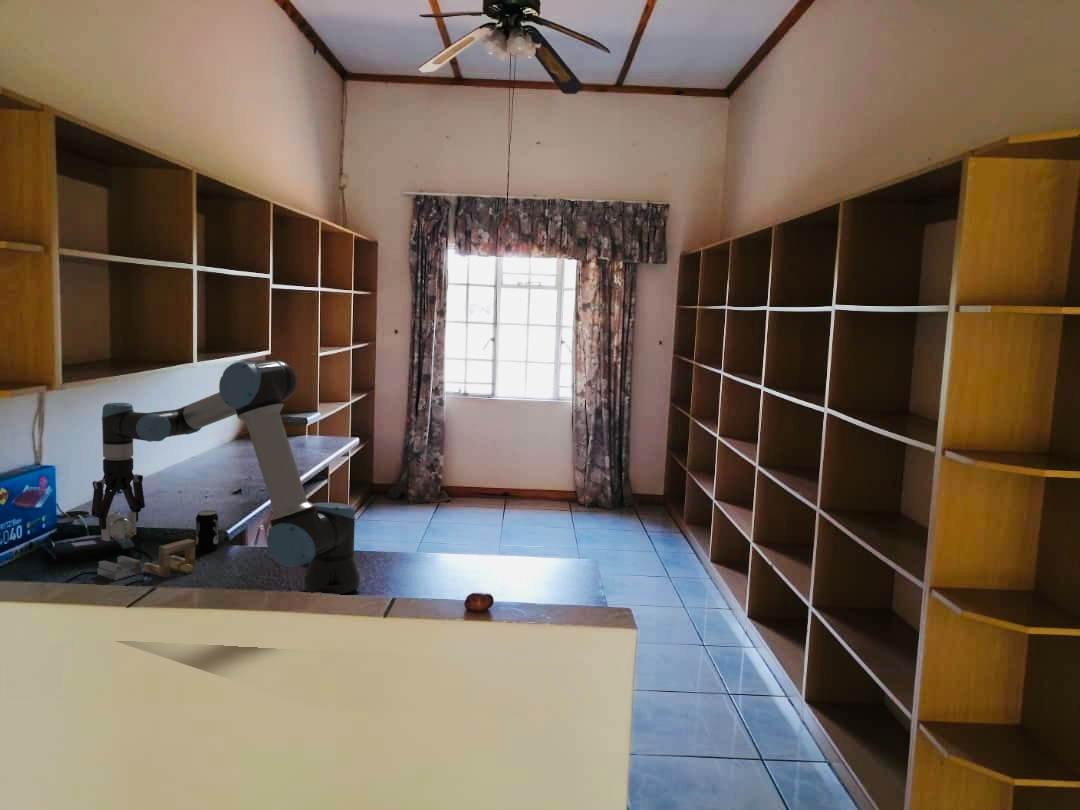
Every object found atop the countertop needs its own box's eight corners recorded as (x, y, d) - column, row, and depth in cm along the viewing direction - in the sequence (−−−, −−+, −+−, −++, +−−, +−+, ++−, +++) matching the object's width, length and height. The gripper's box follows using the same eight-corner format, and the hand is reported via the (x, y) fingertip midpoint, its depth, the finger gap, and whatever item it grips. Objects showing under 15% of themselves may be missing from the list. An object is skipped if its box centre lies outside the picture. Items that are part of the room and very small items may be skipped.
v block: (141, 572, 221) (141, 560, 221) (115, 580, 214) (115, 567, 214) (124, 567, 225) (123, 555, 225) (97, 575, 218) (97, 562, 217)
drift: (189, 576, 223) (195, 568, 224) (184, 570, 221) (190, 562, 222) (165, 570, 227) (171, 562, 229) (160, 565, 225) (166, 557, 227)
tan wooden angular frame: (195, 568, 227) (194, 540, 226) (166, 577, 218) (165, 548, 217) (173, 563, 231) (173, 535, 230) (144, 571, 223) (144, 542, 222)
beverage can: (210, 552, 242) (209, 515, 241) (191, 550, 244) (191, 513, 243) (222, 547, 249) (222, 511, 248) (204, 545, 250) (204, 509, 249)
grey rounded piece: (133, 541, 217) (136, 520, 217) (110, 541, 213) (113, 520, 213) (123, 533, 224) (126, 513, 224) (100, 534, 219) (103, 513, 219)
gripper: (142, 451, 227) (143, 527, 229) (74, 460, 209) (76, 542, 211) (159, 454, 223) (159, 531, 226) (91, 464, 206) (92, 547, 208)
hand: (119, 536), depth 218 cm, fingers closed on grey rounded piece, 7 cm apart
